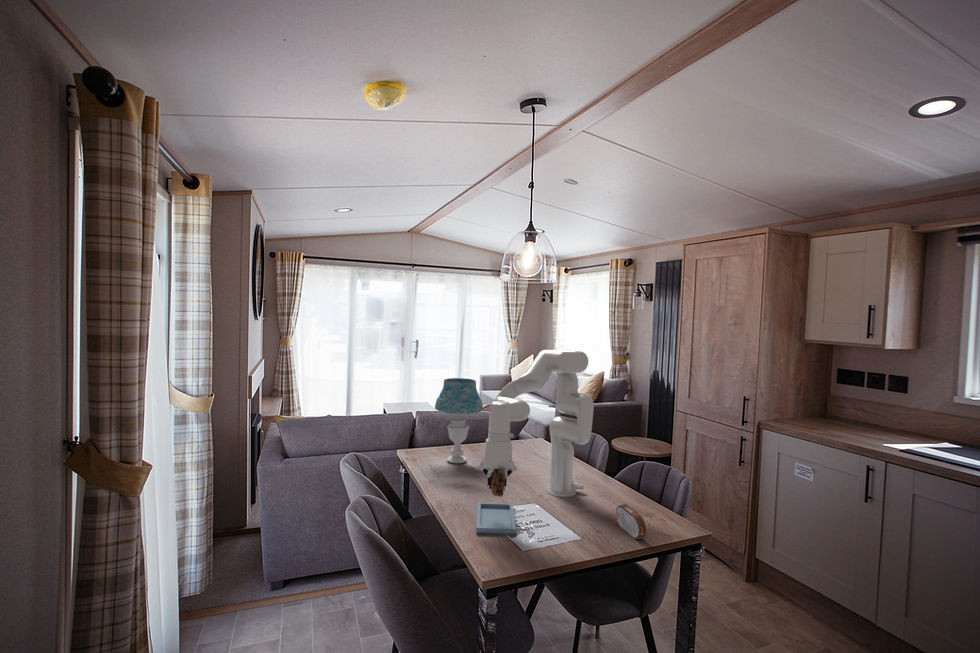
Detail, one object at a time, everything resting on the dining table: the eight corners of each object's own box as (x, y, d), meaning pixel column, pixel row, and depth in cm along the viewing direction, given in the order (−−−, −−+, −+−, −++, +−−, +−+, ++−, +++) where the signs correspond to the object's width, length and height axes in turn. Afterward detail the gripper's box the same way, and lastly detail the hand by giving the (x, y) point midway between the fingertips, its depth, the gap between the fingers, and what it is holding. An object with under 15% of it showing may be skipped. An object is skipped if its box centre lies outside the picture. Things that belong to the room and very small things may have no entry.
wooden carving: (485, 486, 172) (486, 459, 172) (497, 485, 173) (498, 459, 173) (495, 504, 156) (496, 474, 156) (508, 503, 157) (510, 474, 157)
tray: (512, 508, 176) (512, 503, 176) (515, 535, 154) (516, 529, 154) (477, 507, 176) (477, 502, 175) (476, 533, 154) (476, 527, 154)
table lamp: (484, 455, 241) (487, 378, 240) (476, 470, 217) (479, 385, 216) (439, 451, 244) (442, 376, 243) (426, 465, 221) (430, 382, 220)
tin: (646, 543, 153) (647, 518, 152) (638, 544, 152) (639, 519, 151) (621, 523, 167) (622, 500, 167) (613, 524, 166) (615, 500, 166)
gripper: (521, 434, 168) (519, 485, 168) (475, 432, 168) (473, 483, 168) (523, 440, 161) (520, 492, 161) (475, 438, 160) (472, 490, 161)
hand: (496, 487), depth 165 cm, fingers closed on wooden carving, 4 cm apart
